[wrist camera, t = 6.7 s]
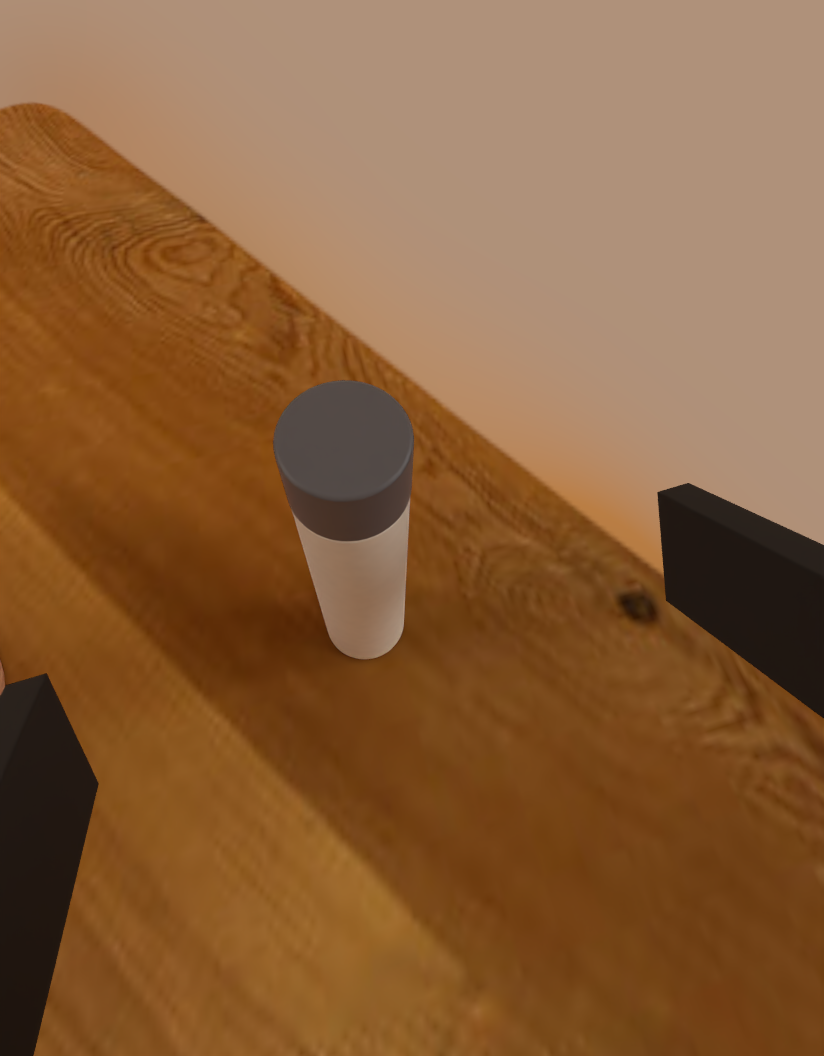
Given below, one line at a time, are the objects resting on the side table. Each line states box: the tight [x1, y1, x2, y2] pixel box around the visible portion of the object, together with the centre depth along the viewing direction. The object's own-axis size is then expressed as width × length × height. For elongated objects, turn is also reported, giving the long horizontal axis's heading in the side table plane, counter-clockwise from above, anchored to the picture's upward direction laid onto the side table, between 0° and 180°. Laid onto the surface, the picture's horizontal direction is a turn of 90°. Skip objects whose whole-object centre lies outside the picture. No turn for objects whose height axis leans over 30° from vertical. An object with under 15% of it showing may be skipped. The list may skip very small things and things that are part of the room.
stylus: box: [273, 380, 414, 659], centre depth 19 cm, size 3×3×12 cm
